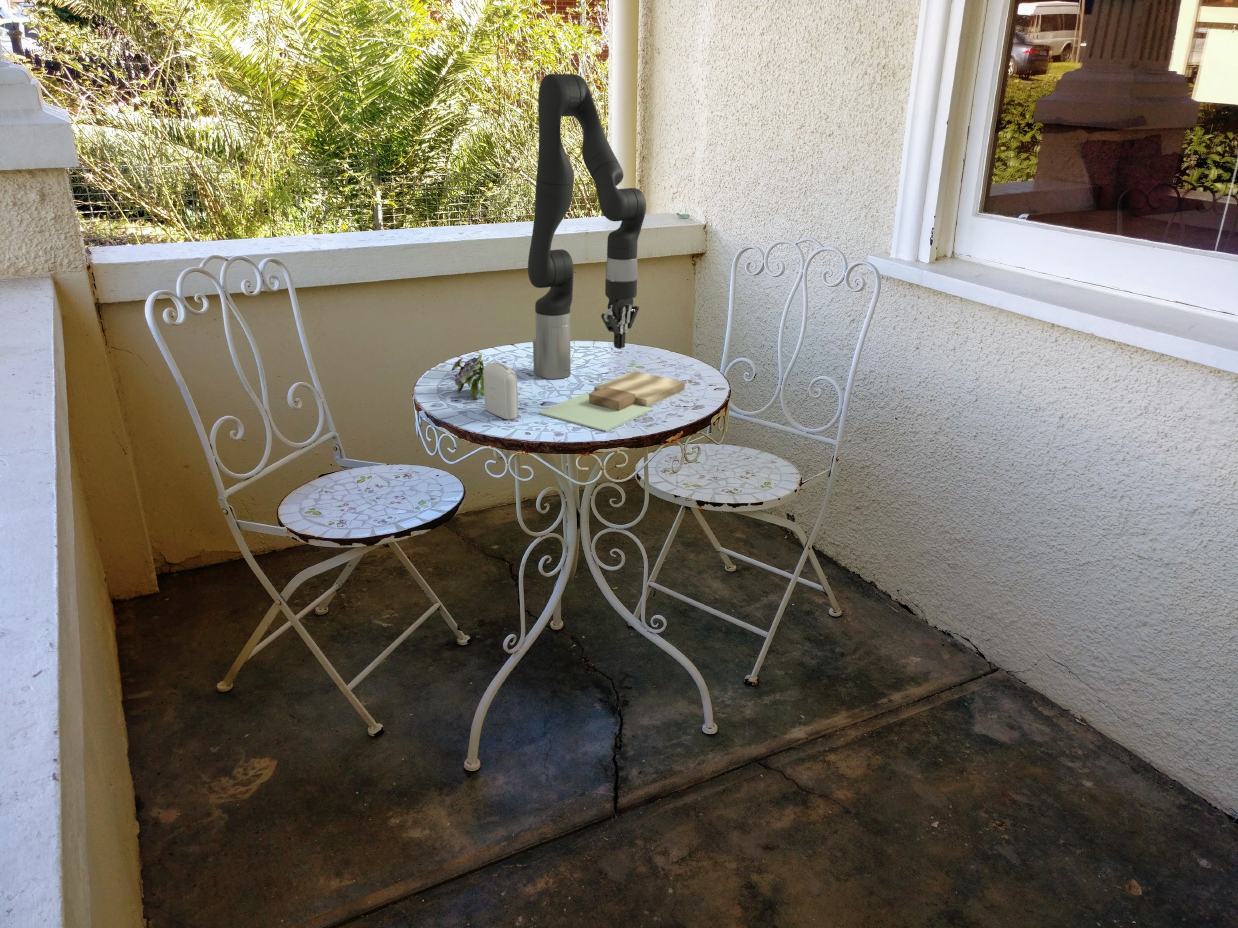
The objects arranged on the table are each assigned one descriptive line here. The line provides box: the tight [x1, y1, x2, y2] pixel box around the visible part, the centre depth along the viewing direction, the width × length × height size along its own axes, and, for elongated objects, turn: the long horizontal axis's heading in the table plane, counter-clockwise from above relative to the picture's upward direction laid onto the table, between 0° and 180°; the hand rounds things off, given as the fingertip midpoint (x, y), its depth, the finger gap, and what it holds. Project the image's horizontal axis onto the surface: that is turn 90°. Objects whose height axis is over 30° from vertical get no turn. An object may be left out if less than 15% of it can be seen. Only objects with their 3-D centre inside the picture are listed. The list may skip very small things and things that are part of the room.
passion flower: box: [451, 354, 485, 401], centre depth 224 cm, size 11×11×12 cm
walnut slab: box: [589, 387, 635, 411], centre depth 217 cm, size 9×7×2 cm
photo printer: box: [483, 361, 519, 420], centre depth 208 cm, size 10×4×12 cm, turn 39°
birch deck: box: [593, 370, 686, 408], centre depth 227 cm, size 16×18×2 cm
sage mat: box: [538, 391, 653, 433], centre depth 213 cm, size 20×19×1 cm
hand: (619, 347), depth 215 cm, fingers closed
